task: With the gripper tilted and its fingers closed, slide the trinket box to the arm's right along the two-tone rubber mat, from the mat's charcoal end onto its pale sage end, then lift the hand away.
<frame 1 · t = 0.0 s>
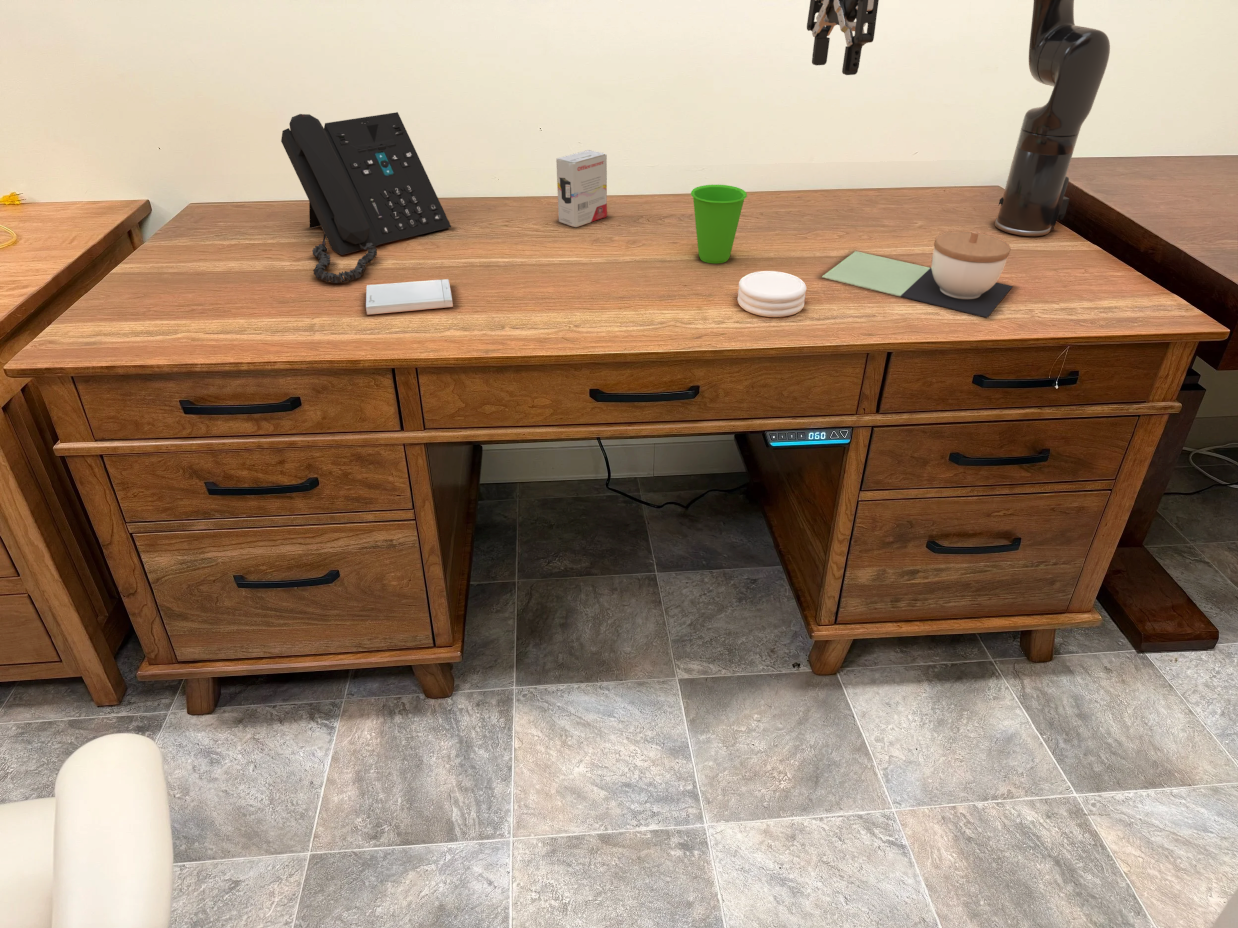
hand: (833, 69, 125), 29 cm above the table, tool pointing down, fingers open, 8 cm apart
office phone: (370, 244, 146), on the table
ink box: (583, 220, 157), on the table
hard drive: (410, 302, 126), on the table
trinket box: (960, 292, 130), resting on runner mat
runner mat: (915, 282, 133), on the table
cup: (714, 259, 141), on the table
white round stack: (770, 305, 126), on the table
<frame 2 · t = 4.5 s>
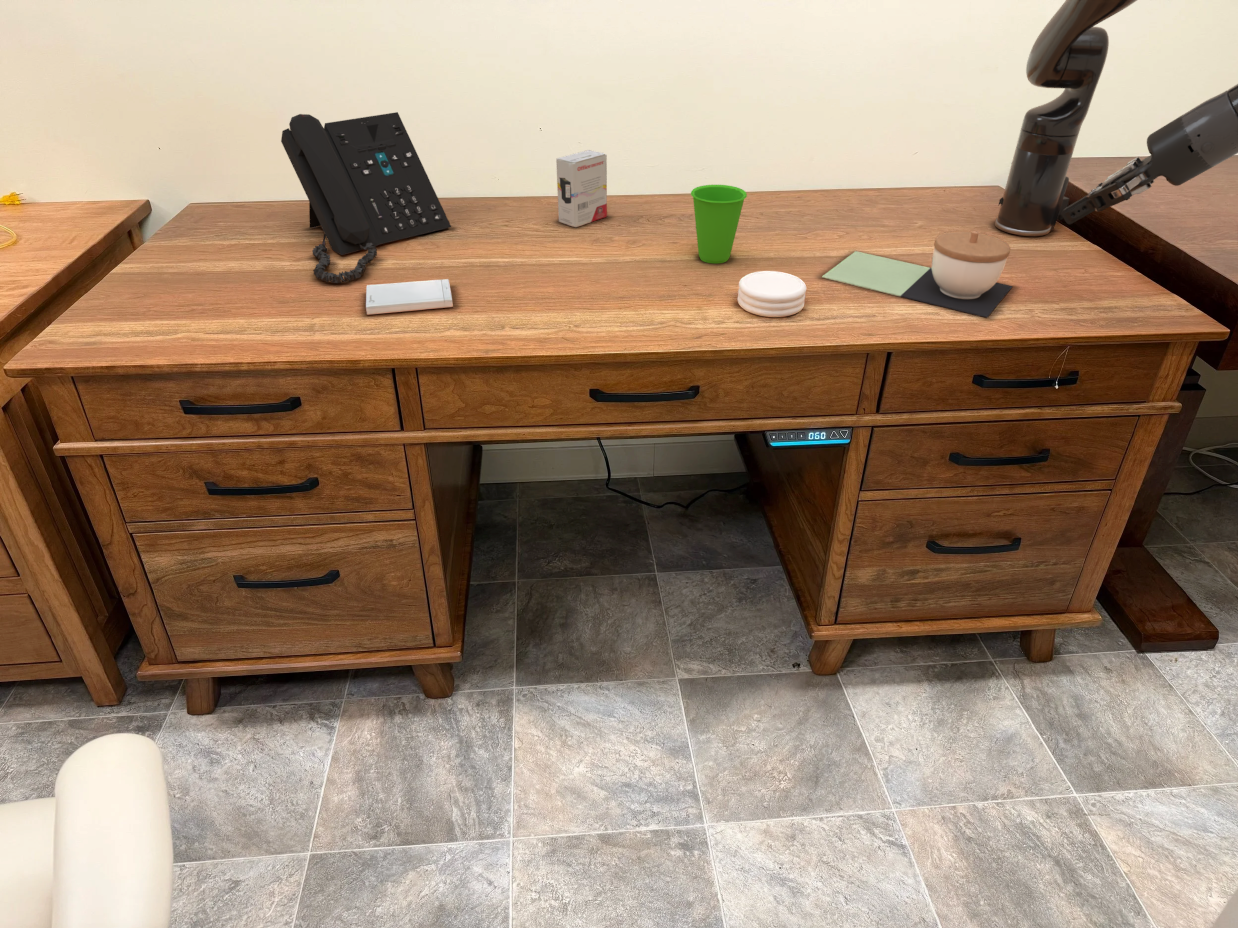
hand: (1065, 217, 116), 14 cm above the table, tool tilted 45°, fingers closed
nothing on the table moved.
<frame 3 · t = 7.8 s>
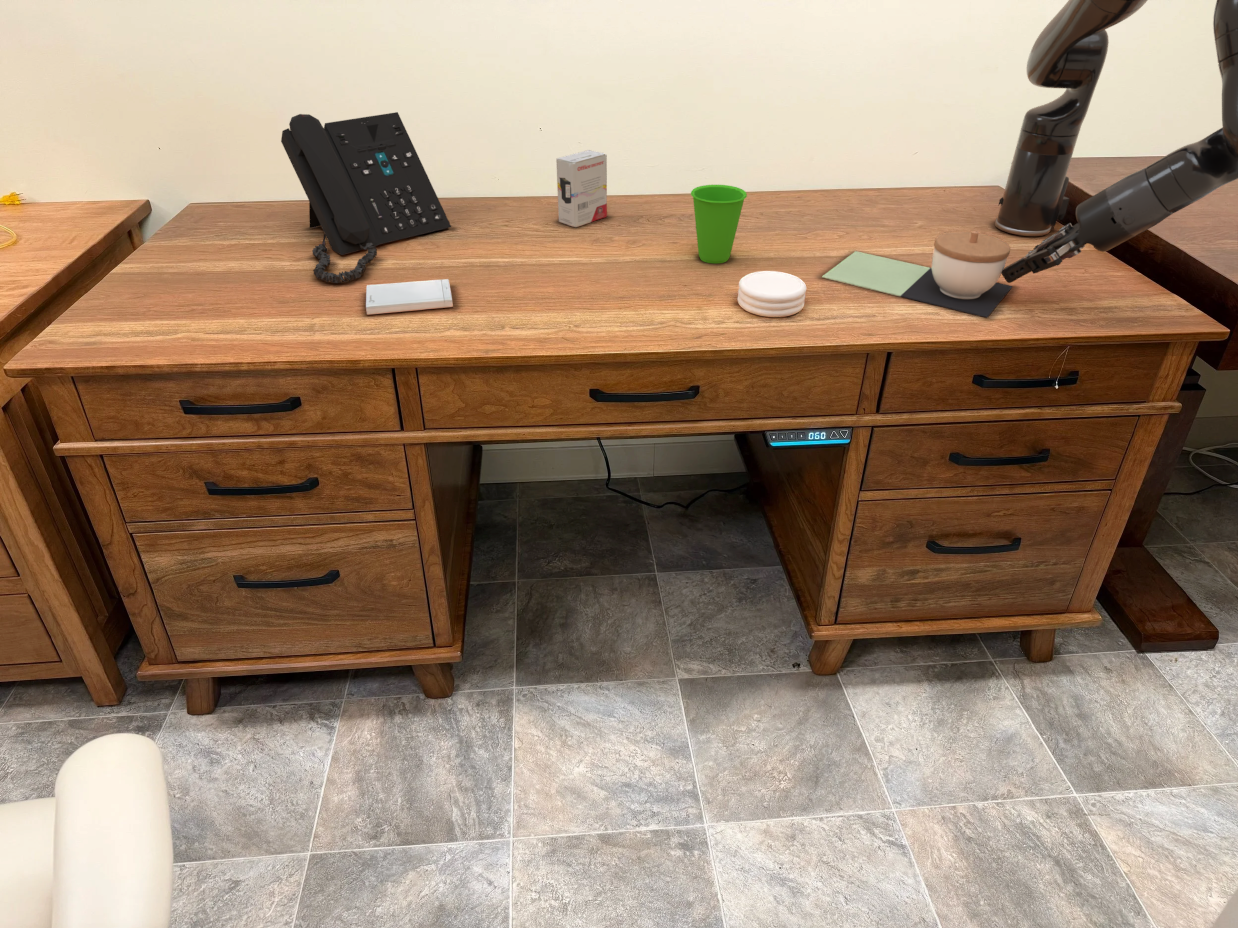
hand: (1005, 276, 125), 4 cm above the table, tool tilted 45°, fingers closed
trinket box: (960, 292, 130), resting on runner mat, touching gripper
everything else where it was.
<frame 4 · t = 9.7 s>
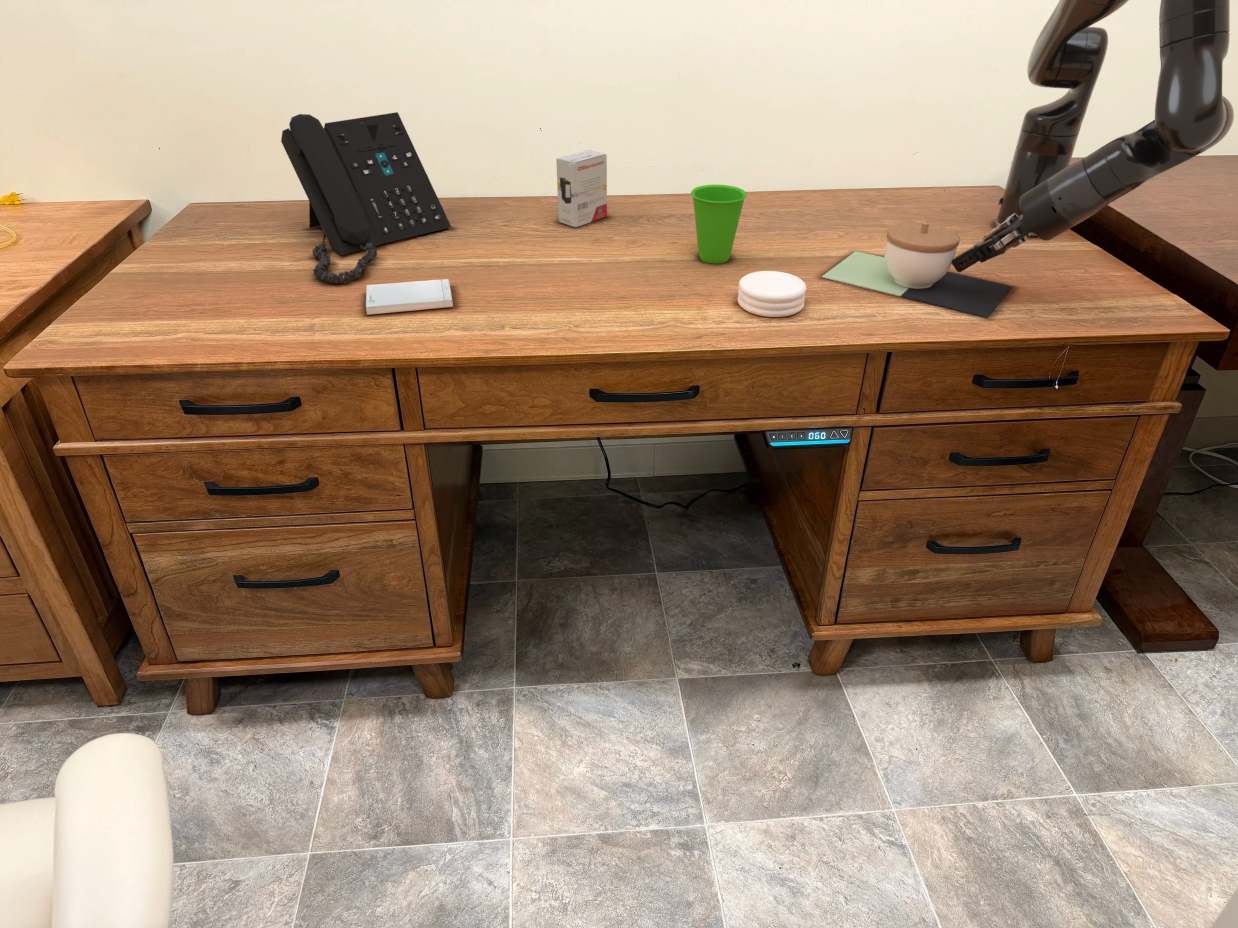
hand: (955, 266, 128), 4 cm above the table, tool tilted 45°, fingers closed
trinket box: (912, 282, 133), resting on runner mat, touching gripper
everything else where it was.
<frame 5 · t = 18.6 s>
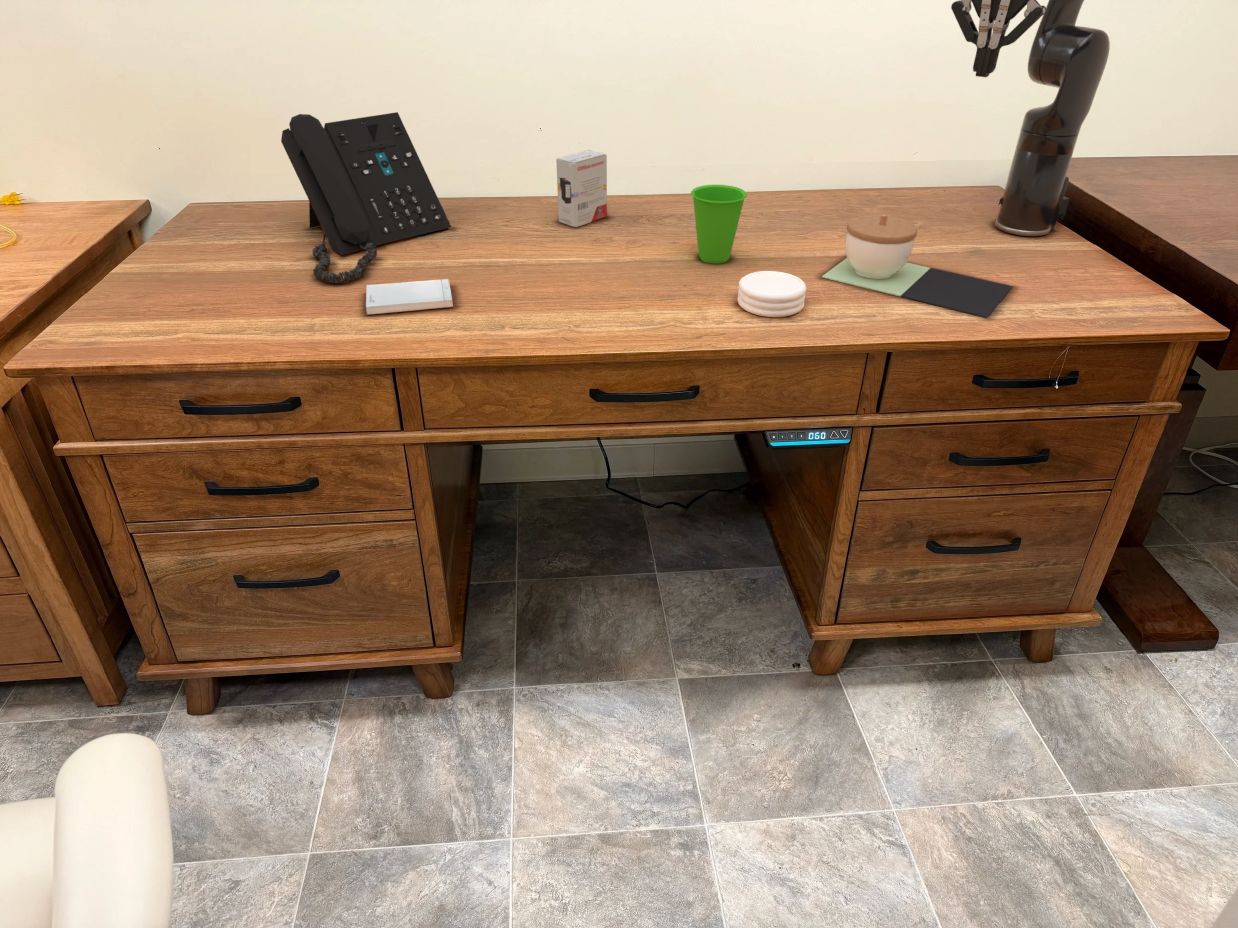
hand: (982, 76, 122), 29 cm above the table, tool pointing down, fingers closed
trinket box: (873, 273, 136), resting on runner mat
everything else where it was.
at the end: trinket box 0.5 cm from the target spot on the runner mat, point 0.0 cm above the runner mat's base; trinket box moved 13.9 cm from its start; trinket box tilted 0° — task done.
